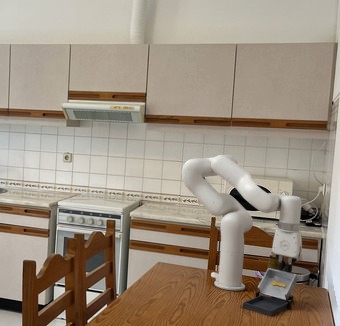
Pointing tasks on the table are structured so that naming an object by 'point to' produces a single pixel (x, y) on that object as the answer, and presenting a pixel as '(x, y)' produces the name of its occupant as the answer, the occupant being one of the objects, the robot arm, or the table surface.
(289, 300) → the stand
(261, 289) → the scoop
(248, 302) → the tray
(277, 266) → the condiment
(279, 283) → the key
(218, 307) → the table surface
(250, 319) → the table surface
